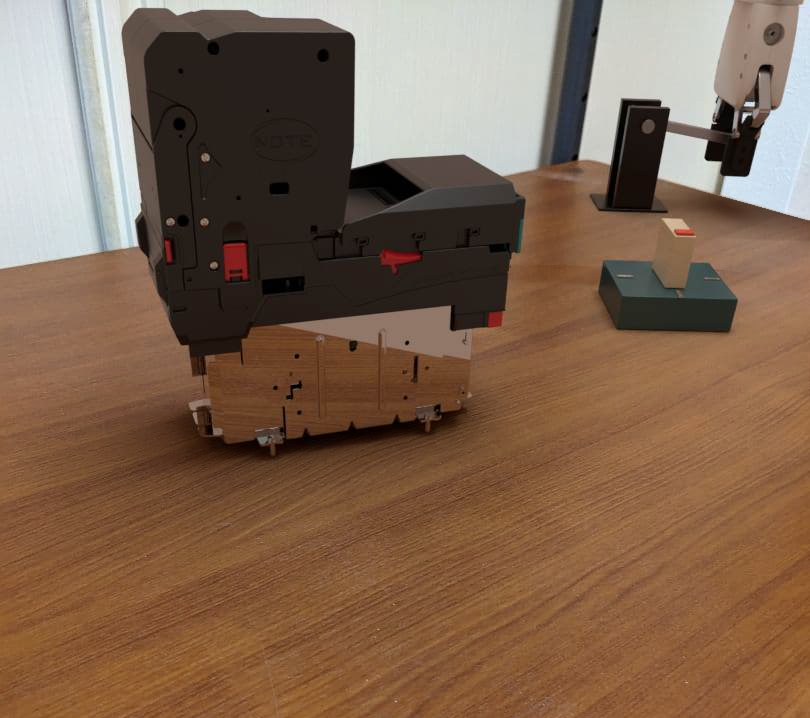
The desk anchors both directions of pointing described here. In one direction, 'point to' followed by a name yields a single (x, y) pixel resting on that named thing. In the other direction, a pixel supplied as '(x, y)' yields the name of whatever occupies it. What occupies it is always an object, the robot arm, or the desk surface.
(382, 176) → the bill acceptor
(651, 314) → the dial panel
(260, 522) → the desk surface
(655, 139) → the lever bracket
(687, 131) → the lever handle
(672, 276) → the tan upright slab
